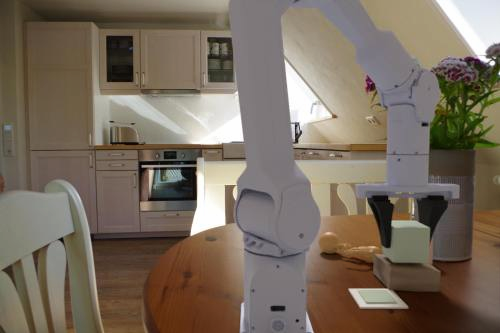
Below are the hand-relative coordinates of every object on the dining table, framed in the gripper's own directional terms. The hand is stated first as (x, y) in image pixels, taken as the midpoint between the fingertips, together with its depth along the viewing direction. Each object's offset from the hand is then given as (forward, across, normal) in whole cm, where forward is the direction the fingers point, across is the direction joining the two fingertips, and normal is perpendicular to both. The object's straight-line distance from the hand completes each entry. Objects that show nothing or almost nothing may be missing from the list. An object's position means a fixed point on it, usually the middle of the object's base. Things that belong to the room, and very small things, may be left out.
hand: (404, 246), depth 58 cm
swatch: (+6, +6, +6) cm, 10 cm away
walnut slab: (+5, 0, 0) cm, 5 cm away
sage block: (+2, 0, 0) cm, 2 cm away
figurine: (+2, +9, -17) cm, 19 cm away
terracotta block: (+6, -5, -10) cm, 13 cm away
